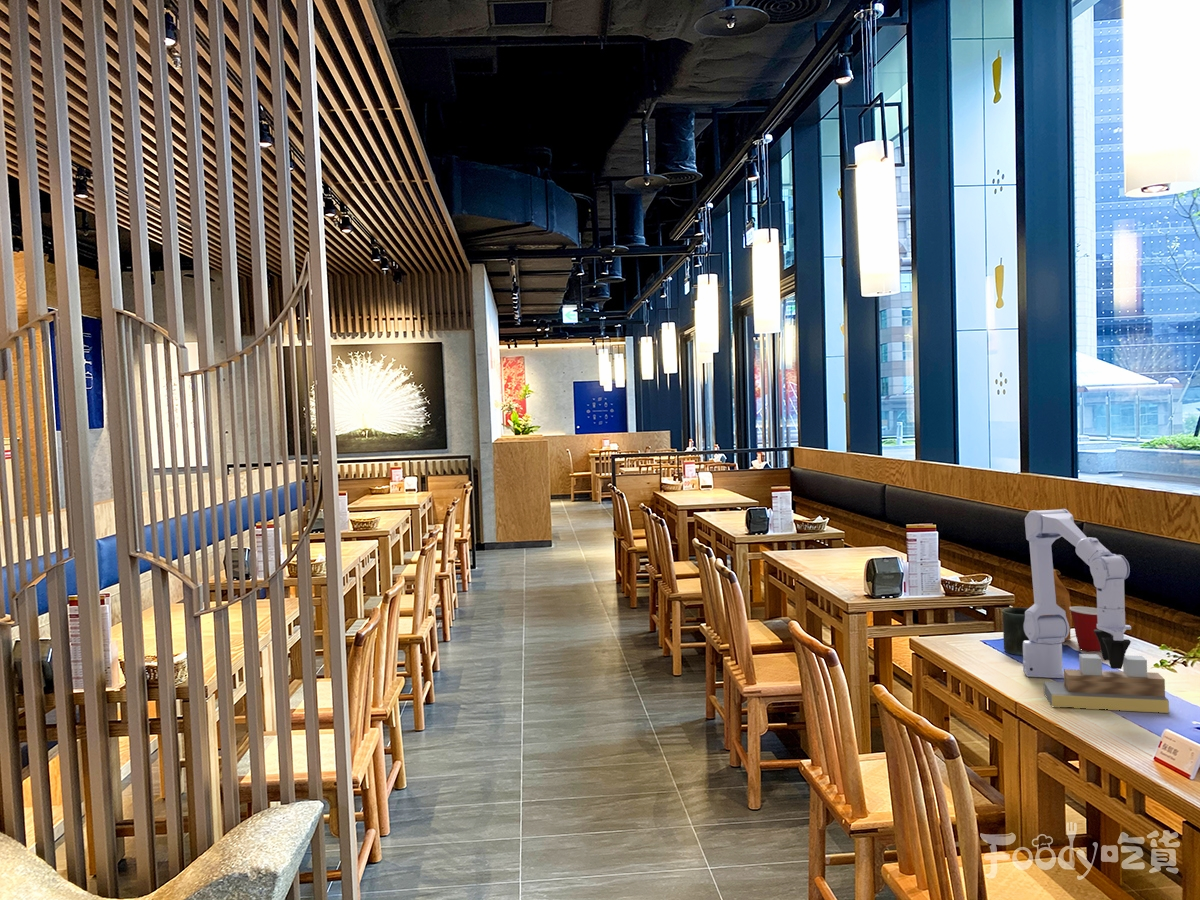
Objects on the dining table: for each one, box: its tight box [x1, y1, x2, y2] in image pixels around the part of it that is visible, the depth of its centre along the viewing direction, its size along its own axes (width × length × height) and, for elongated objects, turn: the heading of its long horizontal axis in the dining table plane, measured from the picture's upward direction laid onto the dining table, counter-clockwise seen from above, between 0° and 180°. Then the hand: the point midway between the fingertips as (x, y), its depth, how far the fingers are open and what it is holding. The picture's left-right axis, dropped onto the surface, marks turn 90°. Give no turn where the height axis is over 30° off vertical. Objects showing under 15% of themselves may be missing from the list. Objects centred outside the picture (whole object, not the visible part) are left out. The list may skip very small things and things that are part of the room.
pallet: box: [1063, 668, 1166, 697], centre depth 214 cm, size 20×6×4 cm, turn 72°
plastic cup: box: [1069, 605, 1101, 652], centre depth 263 cm, size 11×11×12 cm
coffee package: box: [1042, 568, 1073, 641], centre depth 279 cm, size 10×12×22 cm
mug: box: [1000, 606, 1030, 656], centre depth 265 cm, size 11×15×12 cm
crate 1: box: [1078, 653, 1103, 676], centre depth 215 cm, size 4×4×4 cm
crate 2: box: [1122, 654, 1148, 677], centre depth 212 cm, size 4×4×4 cm
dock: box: [1043, 681, 1170, 714], centre depth 214 cm, size 24×11×3 cm, turn 72°
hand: (1112, 664), depth 213 cm, fingers open, 7 cm apart
